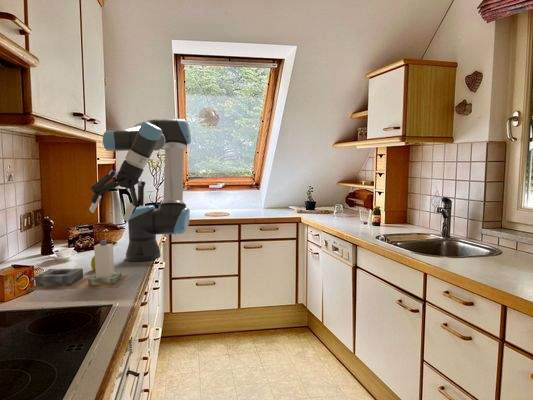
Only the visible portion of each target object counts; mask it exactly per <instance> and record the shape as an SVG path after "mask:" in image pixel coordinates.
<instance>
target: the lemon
mask: <svg viewBox="0 0 533 400" xmlns="http://www.w3.org/2000/svg"><path fill="white" fill-rule="evenodd" d="M90 267H91V269H92V271H93V272H96V270H95V255H93V257H92V258H91V261H90Z"/></svg>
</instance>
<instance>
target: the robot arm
mask: <svg viewBox="0 0 533 400" xmlns="http://www.w3.org/2000/svg"><path fill="white" fill-rule="evenodd" d="M191 143H192V138H191V130H190V126H189V122H188V121H187V120H186V119H183V118H168V119H166V118H162V119H159V118H155V119H148V120H145V121H142V122H138V123H136V124H135V125H134V126H132V127H128V128H124V129H120V130H106V131H104V133H103V135H102V145H103V148H104V149H105V151H108V152H121V151H122V152H124V151H128V152H127V153H126V155H125V158H124V160H123V161H122V164H121V166H120V167H119V170H118V172H117V171H114V170H113V169H112V168H110V169H109V170H108V172H107V174H105V175H104V176H103V177H102V178H101V179H99V180H98V181H97V182H96V183H95V184H93V185H92V186H91V187H90V190H91V191H92V192H93V194H92V198H91V199H90V202H91V205H90V207H89V211H90V212H91V213H92V214H94V213H95V211H96V209H97V207H98V205H99V203H100V201H101V199H102V196H101V195H103V194H105V193H107V192H108V191H110V190H113V189H114V188H117V187H120V188H124V189H125V190H126V189H127V190H129V193H130V197H131V200H132V202H130V203H129V205H128V208H127V209H126V211H125V214H124V215H123V217H122V218H123V220H124V221H125V222H127V225H128V227H127V228H128V245H127V248H126V253H125V260H126V261H128V260H129V262H149V261H154V260H157V259H159V258H161V256H162V254H161V249H160V247H159V245H158V241H157V235H175V236H176V235H182V234H185V233H186V232H187V230H188V228H189V225H190V216H191V215H190V212H191V211H190V208H189V207H187V203H185V201H184V197H183V195H184V157H185V155H184V153H185V151H186V150H187V149H188V145H190V144H191ZM161 149H163V150H164V167H163V169H164V172H163V200H162V201H161V202H160V203H159V208H156V207H155V205H154V204H152V205H145V206H144V204H145V203H144V201H145V200H144V199H145V196H144V193H145V186H146V182H145V181H144V180H143V179H140V178H141V176H142V174H143V172H144V168H146V167H147V164H148V162H149V160H150V158H151V157H152V154H153V152H154V151H159V150H161ZM115 177H116V178H115ZM113 178H114V179H113ZM111 180H112V181H111ZM136 185H137V193H136V188H135V186H136Z"/></svg>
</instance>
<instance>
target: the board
mask: <svg viewBox="0 0 533 400" xmlns="http://www.w3.org/2000/svg"><path fill="white" fill-rule="evenodd" d="M114 275H115V276H113V277H112V278H96V273H95V274H94V275H84V268H82V267H81V268H49V269H48V270H44V271H43V272H41V273H39V274H37V275H35V276H34V285H33V286H34V287H33V286H32V287H33V288H31V287H30V289H29V288H27V293H28V292H29V294H31V293H33V292H34V291H36V290H77V289H79V290H81V289H82V290H83V289H87V290H88V289H118V288H119V287H120V286H121V285H123V284H124V283H125V282H126V281H128V280H129V279H130V278H131V277H132V276H133V274H123V273H122V272H114Z"/></svg>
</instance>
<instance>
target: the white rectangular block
mask: <svg viewBox="0 0 533 400" xmlns="http://www.w3.org/2000/svg"><path fill="white" fill-rule="evenodd" d="M113 244H114V243H108V240H107V239H103V240H99V243H98V244H95V245H93V249H94V256H95V270H96V271H95V274H96V278H112V277H113V276H115V275H114V273H115V260H114V245H113Z"/></svg>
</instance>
